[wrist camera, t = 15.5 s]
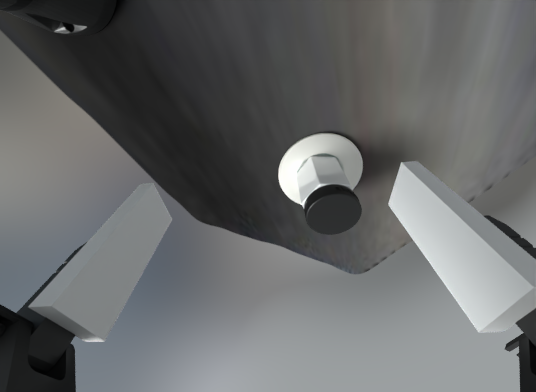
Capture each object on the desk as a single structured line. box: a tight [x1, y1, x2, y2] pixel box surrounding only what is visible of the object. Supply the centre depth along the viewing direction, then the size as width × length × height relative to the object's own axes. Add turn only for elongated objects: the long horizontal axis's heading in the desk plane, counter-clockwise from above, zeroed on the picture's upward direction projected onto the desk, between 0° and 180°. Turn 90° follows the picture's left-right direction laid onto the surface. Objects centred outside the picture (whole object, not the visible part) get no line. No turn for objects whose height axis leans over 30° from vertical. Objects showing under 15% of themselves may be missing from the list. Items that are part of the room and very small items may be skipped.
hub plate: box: [279, 133, 363, 204], centre depth 41 cm, size 16×16×1 cm
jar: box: [296, 156, 362, 235], centre depth 35 cm, size 9×8×12 cm
